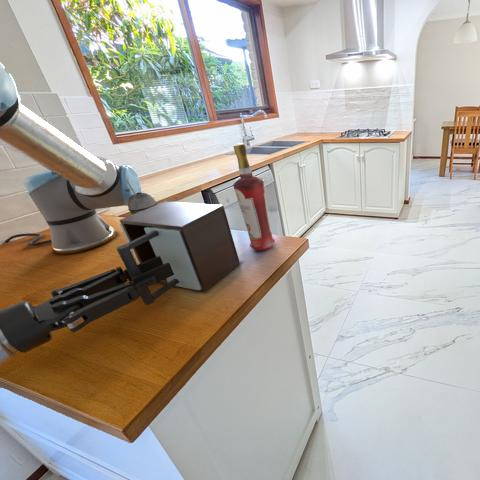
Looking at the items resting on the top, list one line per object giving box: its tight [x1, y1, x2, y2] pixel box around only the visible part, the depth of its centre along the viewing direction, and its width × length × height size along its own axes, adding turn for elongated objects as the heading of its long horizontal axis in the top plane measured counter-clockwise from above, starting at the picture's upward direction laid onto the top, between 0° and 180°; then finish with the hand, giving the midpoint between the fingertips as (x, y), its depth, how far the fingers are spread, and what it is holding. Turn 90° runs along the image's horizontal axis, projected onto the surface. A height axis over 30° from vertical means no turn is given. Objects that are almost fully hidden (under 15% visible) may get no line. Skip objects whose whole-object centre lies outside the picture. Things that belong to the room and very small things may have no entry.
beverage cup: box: [125, 179, 158, 215], centre depth 85 cm, size 7×7×20 cm
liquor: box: [232, 142, 276, 252], centre depth 75 cm, size 7×7×28 cm
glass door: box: [116, 227, 202, 306], centre depth 59 cm, size 9×8×14 cm
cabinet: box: [119, 200, 241, 292], centre depth 69 cm, size 18×12×16 cm, turn 71°
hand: (166, 265), depth 60 cm, fingers open, 4 cm apart
